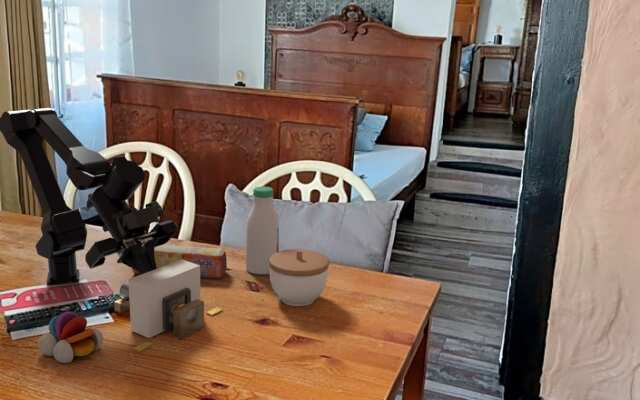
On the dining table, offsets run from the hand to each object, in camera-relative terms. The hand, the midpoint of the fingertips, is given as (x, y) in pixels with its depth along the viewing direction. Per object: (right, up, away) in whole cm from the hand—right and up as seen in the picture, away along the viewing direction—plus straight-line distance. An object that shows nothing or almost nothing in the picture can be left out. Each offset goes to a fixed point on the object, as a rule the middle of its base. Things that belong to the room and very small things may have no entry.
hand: (155, 279), depth 115 cm
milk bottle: (+18, -2, +29) cm, 34 cm away
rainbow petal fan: (-12, -11, -11) cm, 19 cm away
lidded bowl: (+27, -6, +14) cm, 31 cm away
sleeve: (+2, -8, +1) cm, 9 cm away
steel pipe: (0, -8, +2) cm, 8 cm away
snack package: (-1, -2, +25) cm, 25 cm away
